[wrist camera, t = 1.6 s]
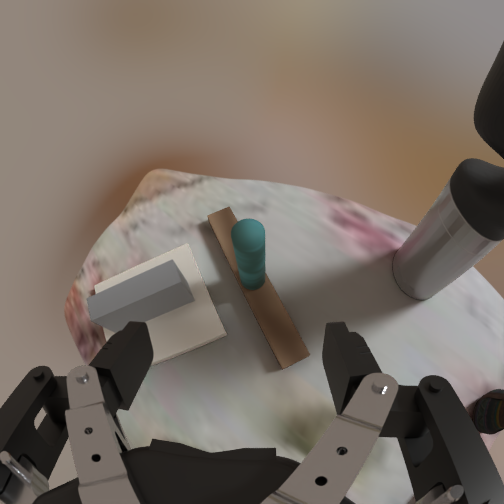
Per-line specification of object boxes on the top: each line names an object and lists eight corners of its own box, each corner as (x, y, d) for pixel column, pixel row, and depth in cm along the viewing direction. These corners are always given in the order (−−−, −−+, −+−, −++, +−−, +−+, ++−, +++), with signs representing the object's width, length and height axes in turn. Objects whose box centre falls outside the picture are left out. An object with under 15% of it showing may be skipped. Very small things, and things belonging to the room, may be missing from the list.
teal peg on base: (230, 214, 43) (219, 151, 31) (307, 356, 32) (331, 339, 21) (209, 223, 42) (191, 162, 31) (282, 369, 31) (292, 360, 20)
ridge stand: (190, 248, 40) (175, 216, 33) (227, 334, 34) (217, 320, 27) (99, 289, 37) (70, 266, 30) (121, 376, 31) (88, 370, 24)
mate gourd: (461, 412, 25) (506, 409, 16) (487, 380, 26) (530, 369, 18) (474, 442, 22) (516, 443, 13) (499, 410, 23) (540, 404, 14)
